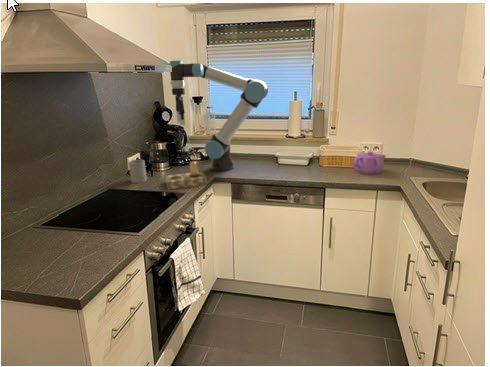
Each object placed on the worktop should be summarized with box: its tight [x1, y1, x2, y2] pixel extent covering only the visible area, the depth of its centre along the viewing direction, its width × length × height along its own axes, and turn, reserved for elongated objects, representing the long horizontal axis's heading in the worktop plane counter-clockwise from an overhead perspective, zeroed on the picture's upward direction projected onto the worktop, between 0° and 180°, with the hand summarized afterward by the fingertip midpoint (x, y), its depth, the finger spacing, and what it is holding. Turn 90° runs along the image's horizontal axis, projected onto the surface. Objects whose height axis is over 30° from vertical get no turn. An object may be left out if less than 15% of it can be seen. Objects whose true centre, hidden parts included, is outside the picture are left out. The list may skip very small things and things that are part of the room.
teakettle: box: [353, 151, 387, 176], centre depth 213 cm, size 17×17×12 cm
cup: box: [128, 159, 148, 184], centre depth 210 cm, size 9×9×12 cm
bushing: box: [189, 161, 199, 178], centre depth 203 cm, size 4×4×12 cm
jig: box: [164, 171, 208, 190], centre depth 203 cm, size 22×14×4 cm, turn 107°
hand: (181, 123), depth 215 cm, fingers open, 13 cm apart
